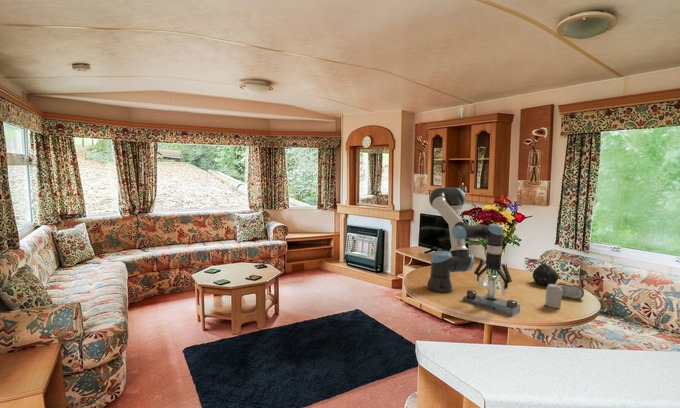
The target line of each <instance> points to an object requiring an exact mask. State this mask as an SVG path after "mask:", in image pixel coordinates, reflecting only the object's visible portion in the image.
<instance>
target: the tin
mask: <svg viewBox="0 0 680 408" xmlns="http://www.w3.org/2000/svg"><path fill="white" fill-rule="evenodd" d="M556 285H559V286H561V289H562V297H561V298H568V299H573V300H580V299H582V298H583V297H584V296H585V290H584V288H583V287H582V286H581V285H580V284H575V283H569V282H563V281H561V282H558V283H557V282H556Z"/></svg>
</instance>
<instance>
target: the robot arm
mask: <svg viewBox="0 0 680 408" xmlns="http://www.w3.org/2000/svg"><path fill="white" fill-rule="evenodd" d="M428 196H429V197H428V201H429V205H430V206H431V207H432V208H433V209H434V210H436V211H437V213H439V215H440V216H441V217H442V218H443V219H444V221H445V222H446V223H447V224H448V231H449V238H450V245H451V248H450V250H437V251H434V252H432V255H431V259H430V262H431V263H430V277H429V279H428V282H427V284H426V288H427V289H428V290H429V291H431V292H435V293H439V294H441V293H442V294H443V293H444V294H445V293H451V292H452V291H453V285H452V280H451V273H458V272H459V273H461V272H462V273H464V272H470V271H471V270H472V269H473V267H474V266H475V257H474V255H473V254H472V253H471V252H470V250H469V248H467V247H466V240H478V239H479V240H480V239H481V240H487V241H486V242H487V243H486V258H482V259H480V261H479V264H478V266H476V269H475V270H474V272H473V274H474V275H476V282H477V288H478V289H480V288H483V286H482V285H483V274H484V273H485V272H486V271H488V270H492V271H496V272H497V273H498V275H499V277H500V278H501V280H502V281H503V282H502V284H501V285H502V288H501V295H502V296H503V295H506V291H507V289H508V288H509V287H508V286H509V283H512V282H513V279H512V277H511V274H510V272H509V270H508V264H507V263H502V252H503V241H504V239H503V237H504V226H503V225H502V224H498V223H489V224H488V225H485V224H480V223H478V224H476V225H468V224H466V223H465V222H464V220H463V217H462V209H463V207H464V205H465V204H466V203H465V202H466V194H465V192H464V191H463V189H462V188H459V187H437V188H435V189H433V190H432V191H431V192H430V194H429V195H428ZM460 215H461V216H460ZM485 264H486V266H484V265H485ZM483 266H484V267H483Z"/></svg>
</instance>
